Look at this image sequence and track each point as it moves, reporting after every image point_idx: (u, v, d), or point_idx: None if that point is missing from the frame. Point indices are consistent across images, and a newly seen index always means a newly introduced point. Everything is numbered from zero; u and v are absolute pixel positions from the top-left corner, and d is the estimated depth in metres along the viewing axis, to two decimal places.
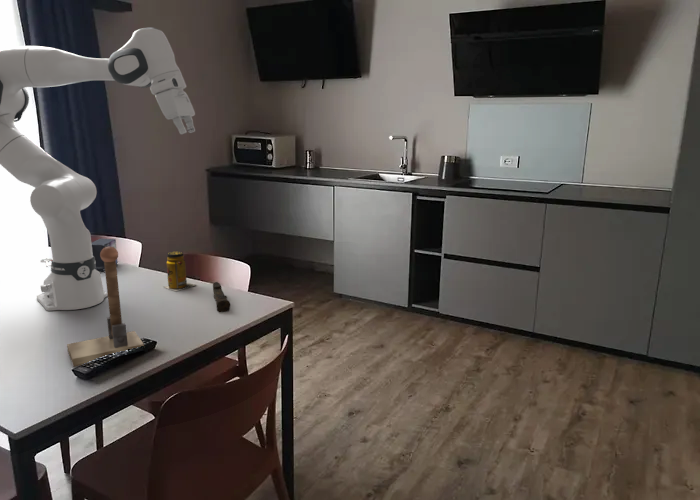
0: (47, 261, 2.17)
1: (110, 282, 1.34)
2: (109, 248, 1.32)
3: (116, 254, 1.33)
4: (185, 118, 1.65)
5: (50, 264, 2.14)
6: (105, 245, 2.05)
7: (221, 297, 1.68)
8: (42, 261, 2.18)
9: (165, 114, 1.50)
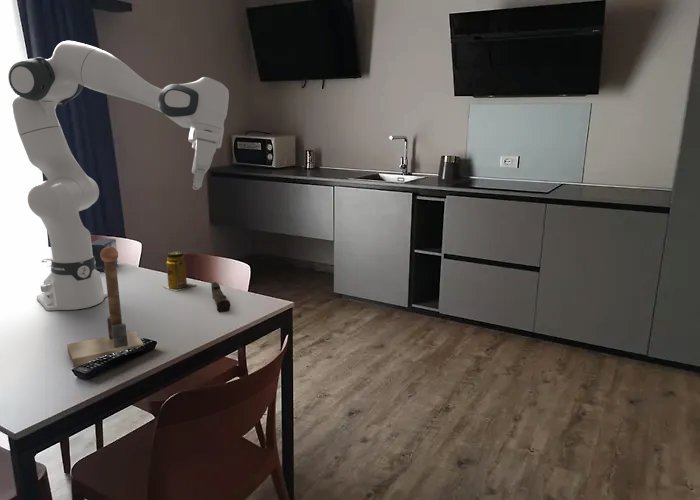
0: (48, 261, 2.17)
1: (110, 282, 1.34)
2: (109, 248, 1.32)
3: (116, 254, 1.33)
4: None
5: None
6: (105, 245, 2.05)
7: (221, 297, 1.68)
8: (43, 261, 2.18)
9: (197, 161, 1.41)
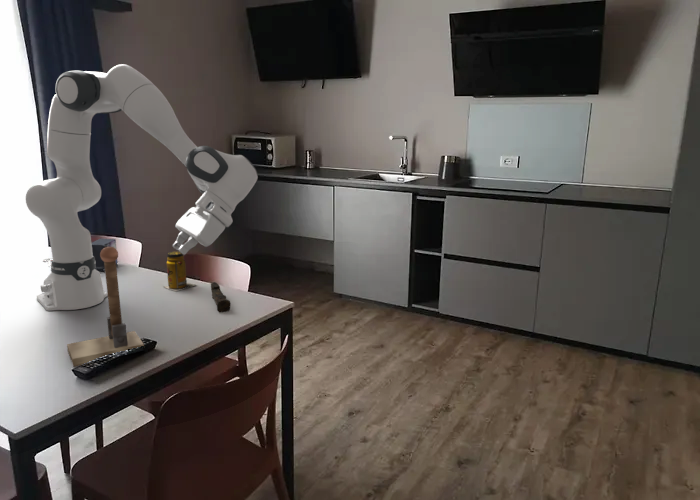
0: (49, 261, 2.18)
1: (110, 282, 1.34)
2: (109, 248, 1.32)
3: (116, 254, 1.33)
4: (183, 233, 1.46)
5: None
6: (105, 245, 2.05)
7: (221, 297, 1.68)
8: (44, 261, 2.18)
9: (201, 236, 1.35)
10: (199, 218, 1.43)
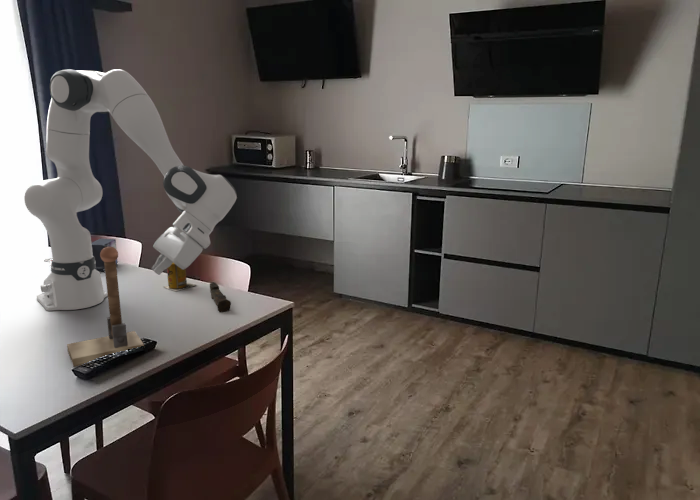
0: (51, 261, 2.18)
1: (110, 282, 1.34)
2: (109, 248, 1.32)
3: (116, 254, 1.33)
4: (163, 256, 1.42)
5: None
6: (105, 245, 2.05)
7: (221, 297, 1.68)
8: None
9: (178, 259, 1.33)
10: (177, 239, 1.41)
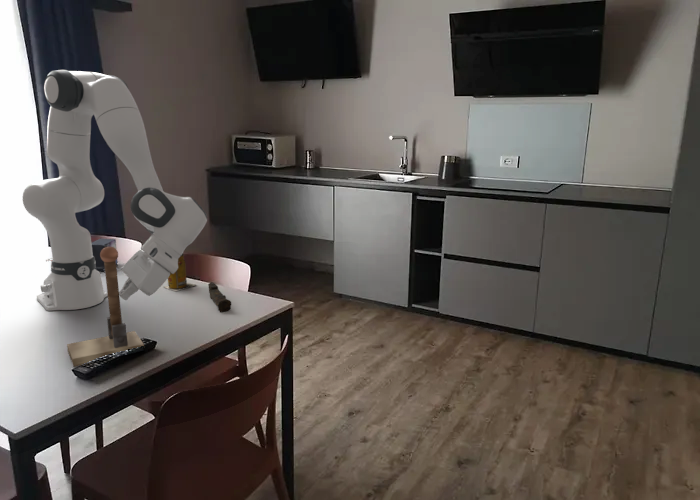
0: None
1: (110, 282, 1.34)
2: (109, 248, 1.32)
3: (116, 254, 1.33)
4: (131, 280, 1.39)
5: None
6: (105, 245, 2.05)
7: (221, 297, 1.68)
8: (47, 260, 2.19)
9: (143, 285, 1.30)
10: (144, 264, 1.37)
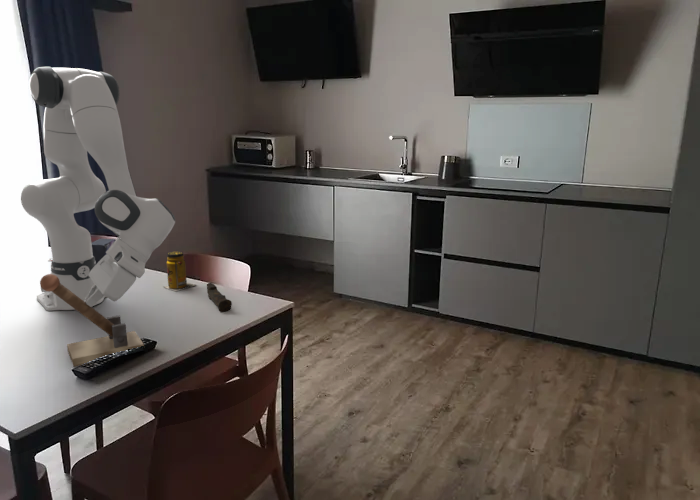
0: None
1: (71, 303, 1.30)
2: (44, 278, 1.26)
3: (54, 279, 1.27)
4: (97, 286, 1.34)
5: None
6: (105, 245, 2.05)
7: (221, 297, 1.68)
8: (49, 260, 2.19)
9: (108, 291, 1.25)
10: (110, 268, 1.33)
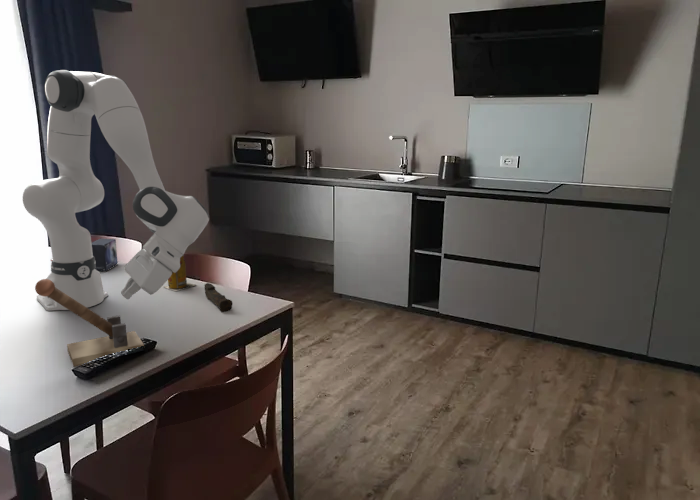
0: None
1: (68, 306, 1.30)
2: (38, 284, 1.26)
3: (49, 284, 1.26)
4: (133, 280, 1.39)
5: None
6: (105, 245, 2.05)
7: (221, 297, 1.68)
8: None
9: (145, 284, 1.30)
10: (146, 263, 1.37)
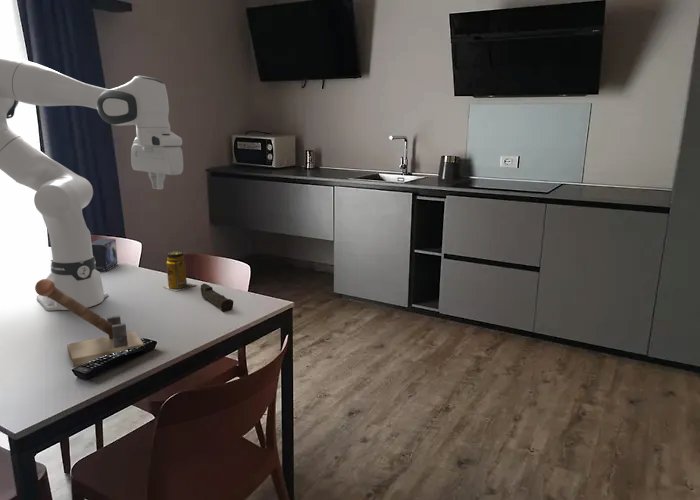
0: None
1: (68, 306, 1.30)
2: (38, 284, 1.26)
3: (49, 284, 1.26)
4: (152, 172, 1.54)
5: None
6: (105, 245, 2.05)
7: (221, 297, 1.68)
8: None
9: (173, 170, 1.46)
10: (152, 153, 1.50)
